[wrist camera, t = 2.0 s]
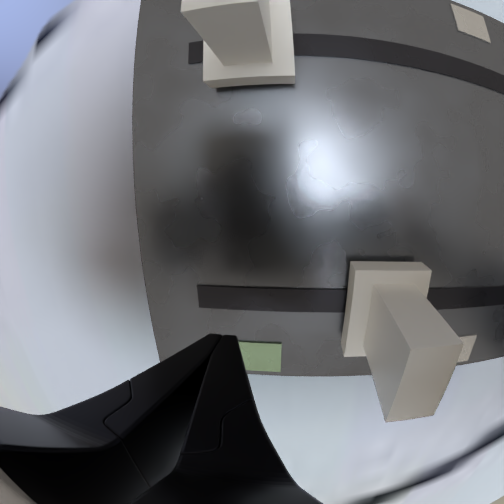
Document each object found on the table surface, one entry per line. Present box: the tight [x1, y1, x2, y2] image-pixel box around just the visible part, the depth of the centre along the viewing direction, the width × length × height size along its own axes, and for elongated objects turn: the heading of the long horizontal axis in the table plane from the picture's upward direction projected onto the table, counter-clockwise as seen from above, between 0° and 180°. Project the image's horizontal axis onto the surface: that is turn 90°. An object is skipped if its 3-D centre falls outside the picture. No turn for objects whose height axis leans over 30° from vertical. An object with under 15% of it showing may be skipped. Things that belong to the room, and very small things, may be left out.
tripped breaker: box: [341, 261, 464, 422], centre depth 8 cm, size 3×4×5 cm
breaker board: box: [132, 0, 504, 376], centre depth 11 cm, size 20×18×2 cm
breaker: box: [181, 0, 295, 88], centre depth 6 cm, size 3×4×5 cm
